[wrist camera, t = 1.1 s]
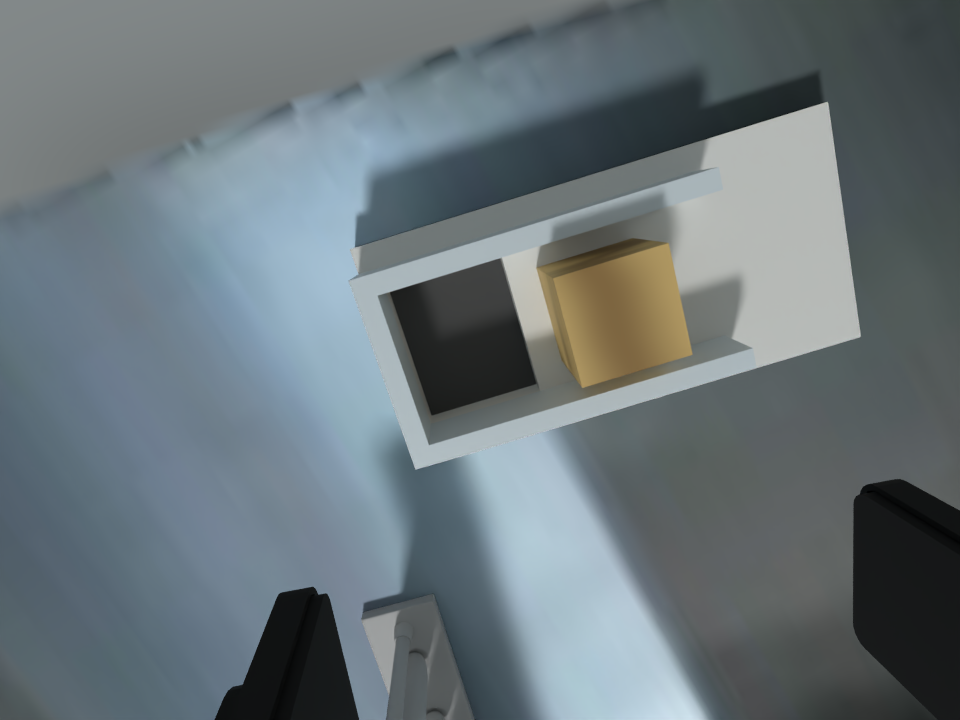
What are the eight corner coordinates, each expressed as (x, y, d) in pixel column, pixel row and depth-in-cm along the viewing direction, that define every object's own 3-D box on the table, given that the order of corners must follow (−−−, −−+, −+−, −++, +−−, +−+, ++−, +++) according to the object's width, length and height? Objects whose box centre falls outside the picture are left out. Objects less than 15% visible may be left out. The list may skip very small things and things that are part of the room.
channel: (809, 107, 30) (870, 89, 26) (842, 331, 33) (902, 349, 28) (354, 247, 30) (339, 253, 26) (427, 455, 33) (423, 492, 29)
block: (632, 237, 30) (668, 242, 25) (654, 332, 31) (692, 354, 26) (536, 267, 30) (552, 278, 25) (561, 360, 31) (582, 387, 26)
